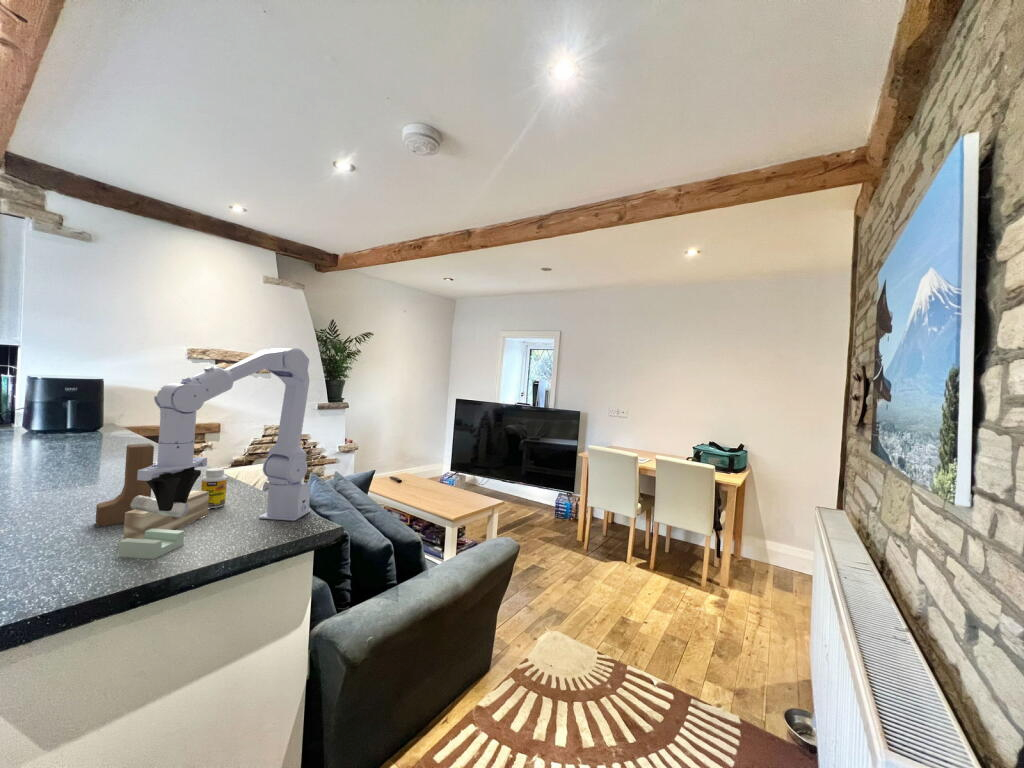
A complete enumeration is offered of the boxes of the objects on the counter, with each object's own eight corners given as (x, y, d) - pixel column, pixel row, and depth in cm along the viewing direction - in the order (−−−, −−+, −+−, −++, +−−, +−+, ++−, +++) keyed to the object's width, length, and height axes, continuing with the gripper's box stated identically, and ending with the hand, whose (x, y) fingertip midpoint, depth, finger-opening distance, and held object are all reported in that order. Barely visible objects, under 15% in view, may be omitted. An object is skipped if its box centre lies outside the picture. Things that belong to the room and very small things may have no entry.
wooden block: (96, 528, 92) (101, 448, 92) (95, 522, 95) (100, 445, 95) (149, 519, 99) (154, 445, 99) (146, 514, 102) (151, 443, 102)
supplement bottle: (201, 511, 107) (203, 472, 107) (198, 505, 111) (201, 468, 111) (227, 507, 110) (229, 470, 110) (223, 502, 114) (225, 466, 114)
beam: (207, 515, 103) (209, 491, 103) (141, 543, 85) (143, 513, 85) (192, 514, 103) (193, 490, 103) (123, 541, 85) (125, 512, 86)
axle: (188, 515, 85) (190, 501, 85) (176, 519, 82) (179, 506, 82) (142, 506, 85) (144, 493, 85) (129, 511, 82) (131, 497, 82)
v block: (183, 544, 86) (184, 530, 86) (153, 559, 79) (154, 543, 79) (150, 542, 86) (151, 528, 86) (118, 556, 79) (119, 541, 79)
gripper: (186, 436, 91) (182, 497, 91) (123, 445, 76) (118, 517, 76) (217, 438, 91) (213, 499, 91) (160, 448, 76) (155, 520, 76)
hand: (172, 507), depth 83 cm, fingers closed on axle, 3 cm apart
